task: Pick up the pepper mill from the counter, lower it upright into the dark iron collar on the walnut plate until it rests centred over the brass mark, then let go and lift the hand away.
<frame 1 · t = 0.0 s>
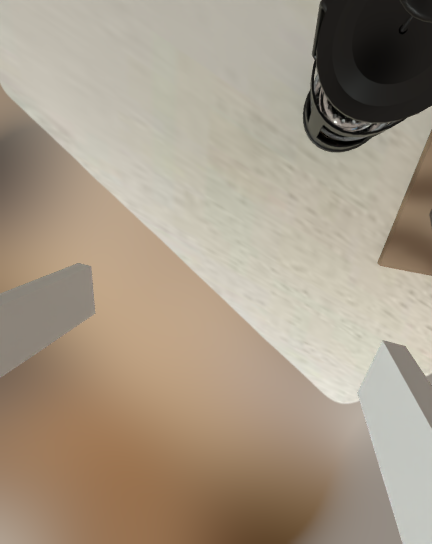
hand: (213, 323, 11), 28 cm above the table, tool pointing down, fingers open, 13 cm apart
french press: (342, 105, 29), on the table
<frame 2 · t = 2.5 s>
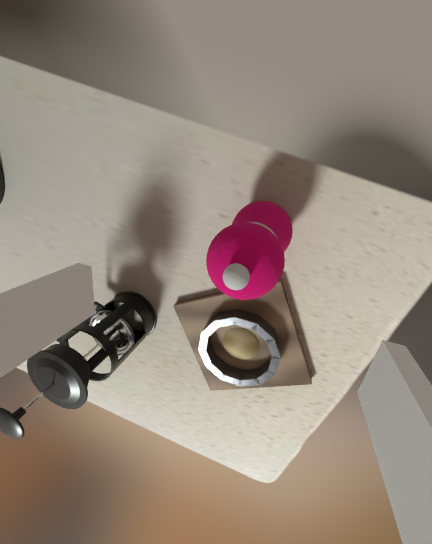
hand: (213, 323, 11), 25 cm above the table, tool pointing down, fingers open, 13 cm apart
collar plate: (242, 339, 41), on the table
french press: (132, 312, 46), on the table
iron collar: (239, 348, 38), on the collar plate, point 2 cm above the table
pepper mill: (264, 225, 33), on the table
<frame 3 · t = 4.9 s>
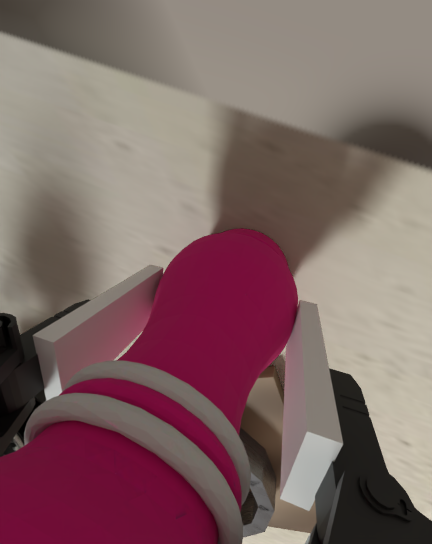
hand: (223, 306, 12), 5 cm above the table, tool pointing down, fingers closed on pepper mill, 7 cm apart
collar plate: (211, 447, 24), on the table
french press: (47, 385, 30), on the table
iron collar: (203, 473, 22), on the collar plate, point 2 cm above the table
pepper mill: (242, 271, 17), on the table, touching gripper
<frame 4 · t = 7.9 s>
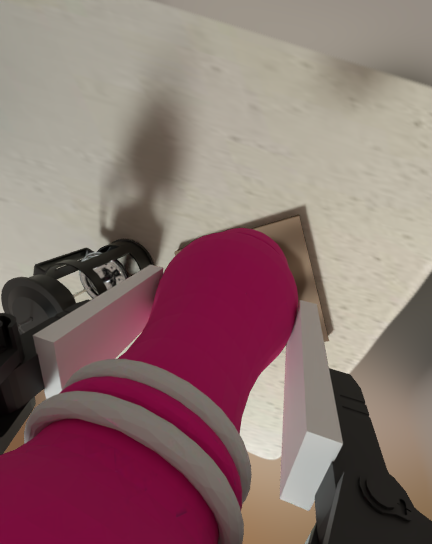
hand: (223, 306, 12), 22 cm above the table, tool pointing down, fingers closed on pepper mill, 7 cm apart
collar plate: (250, 291, 36), on the table
french press: (128, 264, 41), on the table
pepper mill: (242, 271, 17), point 17 cm above the table, touching gripper
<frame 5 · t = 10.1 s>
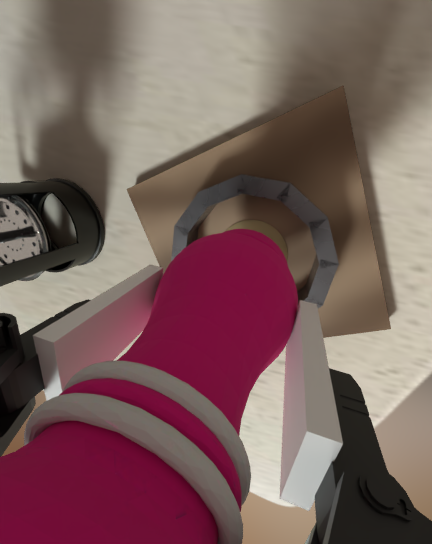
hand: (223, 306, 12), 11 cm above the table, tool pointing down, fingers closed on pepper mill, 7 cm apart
collar plate: (253, 251, 22), on the table
french press: (66, 221, 27), on the table
iron collar: (248, 259, 20), on the collar plate, point 2 cm above the table
pepper mill: (242, 271, 17), point 5 cm above the table, touching gripper
when the fingers open (7 cm above the table, at t = 11.2 s): pepper mill stays where it is, resting on collar plate.
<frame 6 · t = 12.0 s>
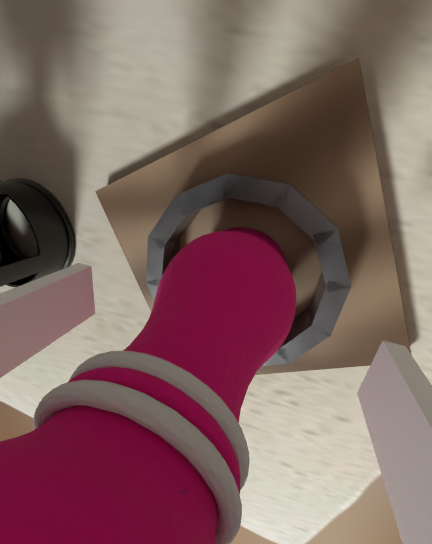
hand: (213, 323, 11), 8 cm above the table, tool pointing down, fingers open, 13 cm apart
collar plate: (245, 265, 18), on the table
french press: (32, 227, 24), on the table
iron collar: (239, 277, 16), on the collar plate, point 2 cm above the table
pepper mill: (242, 269, 17), point 1 cm above the table, touching collar plate
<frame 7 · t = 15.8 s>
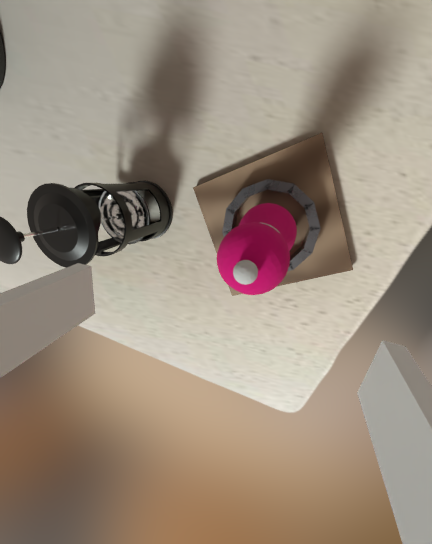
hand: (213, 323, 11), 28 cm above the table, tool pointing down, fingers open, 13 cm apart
collar plate: (270, 225, 36), on the table
french press: (145, 209, 41), on the table
iron collar: (269, 228, 34), on the collar plate, point 2 cm above the table
pepper mill: (269, 226, 35), point 1 cm above the table, touching collar plate
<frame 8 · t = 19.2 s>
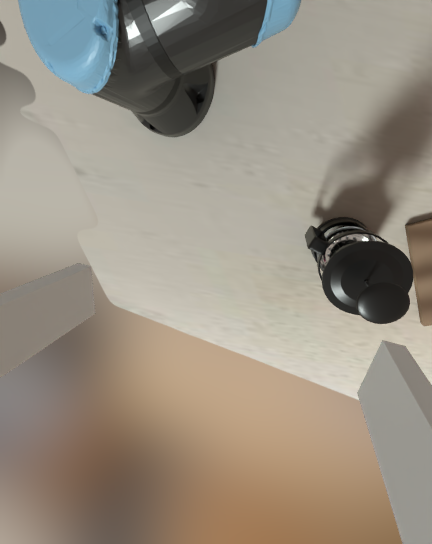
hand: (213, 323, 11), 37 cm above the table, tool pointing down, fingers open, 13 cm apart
french press: (336, 242, 43), on the table
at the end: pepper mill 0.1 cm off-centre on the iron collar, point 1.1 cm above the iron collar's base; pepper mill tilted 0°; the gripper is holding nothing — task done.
